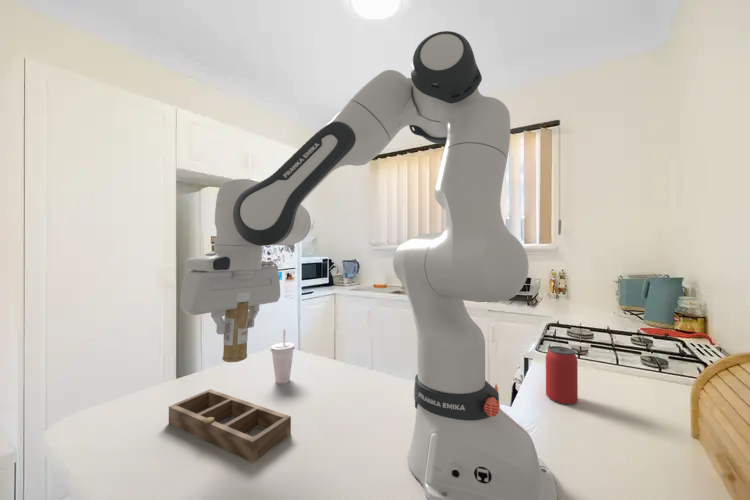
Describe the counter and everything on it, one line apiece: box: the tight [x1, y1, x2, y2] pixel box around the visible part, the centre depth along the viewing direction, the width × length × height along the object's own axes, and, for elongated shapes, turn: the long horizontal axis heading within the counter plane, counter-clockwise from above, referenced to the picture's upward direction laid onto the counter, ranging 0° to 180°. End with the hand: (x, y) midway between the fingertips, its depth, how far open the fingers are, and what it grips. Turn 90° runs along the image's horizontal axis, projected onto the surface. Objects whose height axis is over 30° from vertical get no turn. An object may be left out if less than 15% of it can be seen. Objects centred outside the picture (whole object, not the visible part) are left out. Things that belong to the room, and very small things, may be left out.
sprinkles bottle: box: [221, 292, 250, 363], centre depth 60 cm, size 5×5×13 cm
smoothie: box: [270, 328, 295, 385], centre depth 84 cm, size 6×6×14 cm
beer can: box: [545, 345, 579, 406], centre depth 73 cm, size 7×7×12 cm
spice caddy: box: [168, 388, 292, 464], centre depth 61 cm, size 25×9×4 cm, turn 62°
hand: (236, 330), depth 60 cm, fingers closed on sprinkles bottle, 4 cm apart
